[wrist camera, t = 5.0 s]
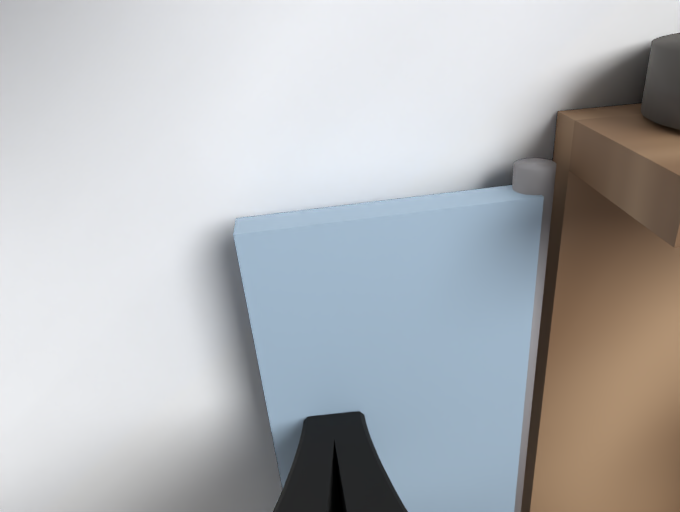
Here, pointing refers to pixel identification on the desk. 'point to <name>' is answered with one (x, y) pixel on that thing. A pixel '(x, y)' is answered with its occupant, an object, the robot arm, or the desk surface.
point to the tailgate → (408, 331)
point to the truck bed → (612, 309)
